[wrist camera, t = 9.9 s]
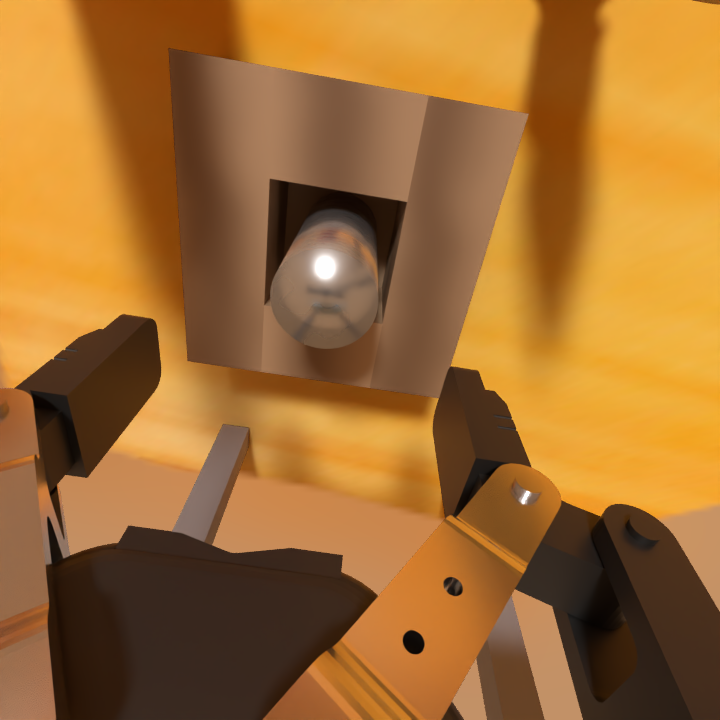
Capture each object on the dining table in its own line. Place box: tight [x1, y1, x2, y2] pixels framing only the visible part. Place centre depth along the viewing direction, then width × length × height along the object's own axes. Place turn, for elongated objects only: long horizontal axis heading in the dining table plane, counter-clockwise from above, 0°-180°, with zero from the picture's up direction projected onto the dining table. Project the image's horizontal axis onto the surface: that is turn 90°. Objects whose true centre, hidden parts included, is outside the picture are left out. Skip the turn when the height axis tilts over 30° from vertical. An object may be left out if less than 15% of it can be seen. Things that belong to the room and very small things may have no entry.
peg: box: [270, 193, 378, 349], centre depth 20 cm, size 4×4×10 cm
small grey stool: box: [172, 424, 544, 720], centre depth 21 cm, size 21×11×26 cm, turn 81°
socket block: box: [169, 48, 529, 398], centre depth 23 cm, size 14×14×6 cm
